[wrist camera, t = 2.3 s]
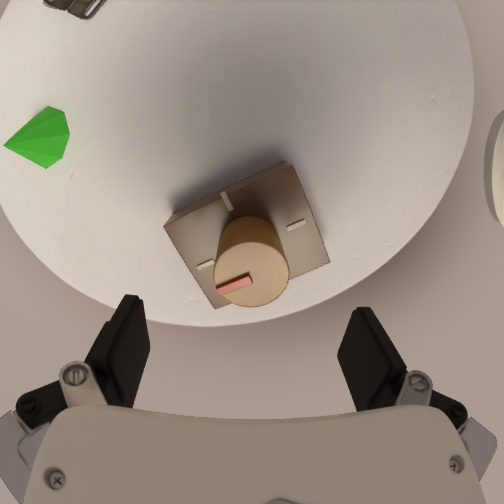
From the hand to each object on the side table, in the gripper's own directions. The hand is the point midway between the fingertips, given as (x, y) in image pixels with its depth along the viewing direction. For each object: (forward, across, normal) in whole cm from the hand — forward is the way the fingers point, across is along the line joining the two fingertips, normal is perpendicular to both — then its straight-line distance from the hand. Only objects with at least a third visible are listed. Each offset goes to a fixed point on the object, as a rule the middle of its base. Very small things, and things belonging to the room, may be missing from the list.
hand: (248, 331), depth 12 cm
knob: (+9, 0, 0) cm, 9 cm away
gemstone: (+13, +19, -8) cm, 24 cm away
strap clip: (+12, +18, -23) cm, 31 cm away
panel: (+12, 0, 0) cm, 12 cm away
